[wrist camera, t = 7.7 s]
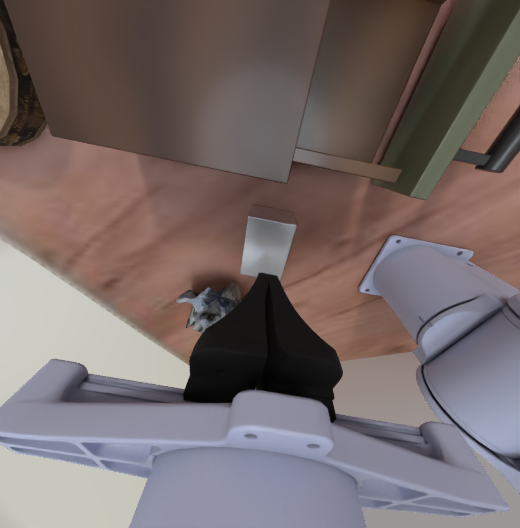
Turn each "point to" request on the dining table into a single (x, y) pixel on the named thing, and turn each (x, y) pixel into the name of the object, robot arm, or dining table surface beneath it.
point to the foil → (210, 305)
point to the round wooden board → (16, 90)
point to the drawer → (394, 81)
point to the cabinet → (176, 76)
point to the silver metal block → (267, 241)
